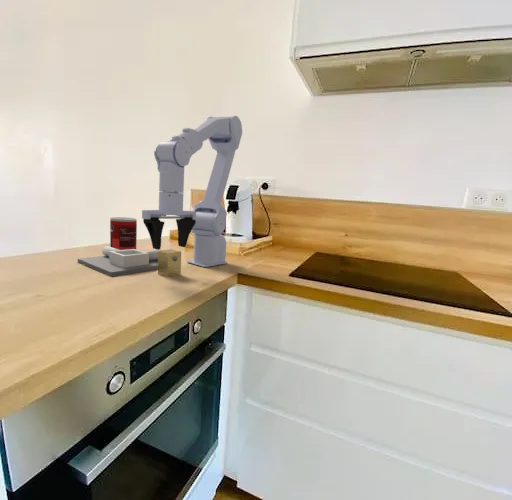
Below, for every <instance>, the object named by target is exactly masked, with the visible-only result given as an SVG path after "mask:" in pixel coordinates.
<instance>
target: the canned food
mask: <svg viewBox="0 0 512 500" xmlns="http://www.w3.org/2000/svg"><path fill="white" fill-rule="evenodd" d="M109 219H110V222H109V229H110V231H109V234H110V235H109V239H110V244H109V245H110V246H109V247H112V248H116V249H119V250H129V249H136V250H137V237H138V236H137V235H138V233H137V232H138V231H137V230H138V229H137V227H138V225H137V218H135V217H125V216H124V217H121V216H118V217H110V218H109Z"/></svg>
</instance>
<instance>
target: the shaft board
mask: <svg viewBox="0 0 512 500" xmlns="http://www.w3.org/2000/svg"><path fill="white" fill-rule="evenodd" d="M160 250H161V249H159V250H157V249H154V250H145V251H142V250H140V249H137V248H136V249H129V250H119V249H116V248H112V247H110V246H109V245H106V246H103V248H102V249H101V253H102V256H101V255H100V256H91V257H90V256H89V257H82V258H81V257H80V258H77V263H79V264H81V265H83V266H86V267H88V268H90V269H93V270H95V271H97V272H100V273H101V274H105V275H106V276H107V275H108V276H109V277H115V276H116V277H117V276H123V275H129V274H134V273H135V274H136V273H141V272H149V271H154V270H158V251H160Z"/></svg>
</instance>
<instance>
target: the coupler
mask: <svg viewBox="0 0 512 500" xmlns="http://www.w3.org/2000/svg"><path fill="white" fill-rule="evenodd" d="M159 250H160V251H158V269H157V274H158V275H159V276H163V277H165V278H170V277H175V276H181V275H182V272H181V271H182V251H180V250H176V249H173V248H172V249H171V248H170V249H159Z"/></svg>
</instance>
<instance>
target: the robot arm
mask: <svg viewBox="0 0 512 500" xmlns="http://www.w3.org/2000/svg"><path fill="white" fill-rule="evenodd" d="M242 136H243V125H242V121H241V119H240V118H239V117H238V115H232V116H209V117H207V118H205V119H204V121H203V123H202V124H200V125H199V126H198V127H197V128H195V129H194V128H190V127H184V128H183V129H182V131H181V132H180V133H179V134H177V135H172V137H171V138H170V140H168V141H167V140H163V141H160V142H159V143H158V145H157V146H156V147H155V150H154V151H153V153H154V154H153V155H154V158H155V161H156V163H157V165H156V166H157V170H158V173H159V179H158V180H159V181H158V182H159V183H158V187H159V189H158V191H159V192H158V209H142V210H141V218H142V219H143V221H142V222H143V224H144V225H145V228H146V229H147V231H148V234H149V238H150V240H151V246H152V249H154V250H161V247H162V234H163V229H164V227H165V221H161V219H163V220H164V219H170V220H171V219H173V220H174V219H175V221H176V226H177V236H178V237H177V244H178V247H181V248H186V246H187V243H188V240H189V236H190V234H191V233H192V234H194V235H193V237H194V238H193V259H189V260H187V261H186V262H187V263H189V264H192V265H196V266H200V267H203V268H207V267H208V268H209V267H214V266H218V265H225V264H227V263H228V261H226V256H227V254H226V253H227V241H226V237H225V236H224V235H223V234H222V233H224V231H225V229H226V228H227V227H226V226H227V215H228V211H227V210H226V208H225V207H224V206H223V205H222V202H223V198H224V194H225V191H226V186H227V185H228V179H229V175H230V173H231V168H232V166H233V163H234V162H233V161H234V158H235V156H236V155H235V154H236V151H237V150H238V149H239V147H240V146H239V145H240V143H241V139H242ZM207 140H208V141H209V144H210V147H211V148H212V149H213V150H215V151H216V156H215V159H214V162H213V165H212V170H211V173H210V176H209V181H208V183H207V187H206V191H205V194H204V196H203V199H202V200H200V201H199V202H198V203H196V204H195V205H194V207H193V209H192V210H184V185H185V166H188V165H189V163H190V160H191V158H192V157H193V155H195V154H196V153H197V152H198V151H200V150H201V149H202V148H203V145H204V142H205V141H207Z"/></svg>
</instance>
